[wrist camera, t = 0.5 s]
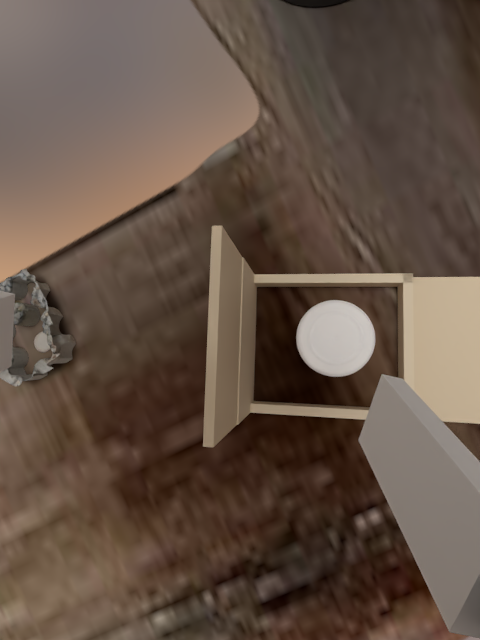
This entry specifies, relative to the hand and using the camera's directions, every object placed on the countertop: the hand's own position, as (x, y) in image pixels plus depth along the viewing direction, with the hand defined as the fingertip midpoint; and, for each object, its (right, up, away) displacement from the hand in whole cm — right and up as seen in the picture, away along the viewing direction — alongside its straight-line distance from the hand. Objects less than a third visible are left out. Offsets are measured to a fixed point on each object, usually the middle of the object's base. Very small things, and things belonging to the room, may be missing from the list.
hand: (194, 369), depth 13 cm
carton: (+12, -1, +21) cm, 24 cm away
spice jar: (+10, -1, +22) cm, 24 cm away
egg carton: (-21, +1, +27) cm, 34 cm away
